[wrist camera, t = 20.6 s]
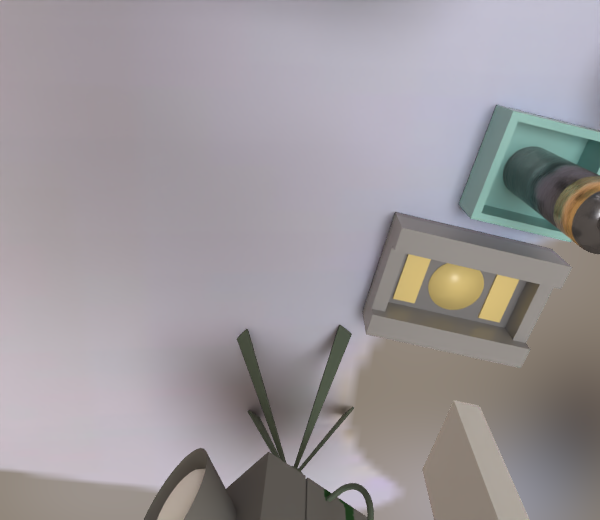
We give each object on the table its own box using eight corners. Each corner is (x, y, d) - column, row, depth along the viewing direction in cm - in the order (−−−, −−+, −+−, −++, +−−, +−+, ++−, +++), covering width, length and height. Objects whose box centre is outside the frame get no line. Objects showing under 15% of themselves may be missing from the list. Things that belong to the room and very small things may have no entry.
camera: (403, 365, 48) (480, 661, 25) (300, 453, 53) (285, 765, 30) (280, 268, 44) (238, 512, 21) (181, 372, 49) (62, 660, 26)
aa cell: (514, 140, 38) (598, 183, 27) (563, 152, 38) (667, 200, 27) (494, 189, 40) (565, 249, 28) (541, 201, 40) (631, 265, 29)
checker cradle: (395, 212, 41) (402, 227, 38) (551, 248, 42) (572, 267, 39) (362, 311, 46) (366, 334, 42) (505, 343, 46) (520, 368, 43)
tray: (496, 104, 38) (513, 110, 34) (596, 130, 38) (622, 138, 35) (458, 204, 41) (470, 218, 38) (551, 226, 41) (571, 242, 38)
